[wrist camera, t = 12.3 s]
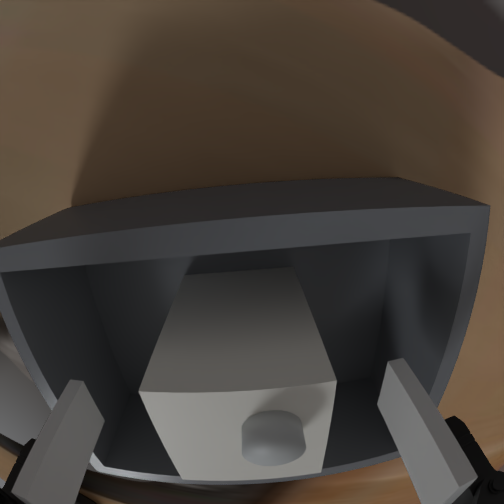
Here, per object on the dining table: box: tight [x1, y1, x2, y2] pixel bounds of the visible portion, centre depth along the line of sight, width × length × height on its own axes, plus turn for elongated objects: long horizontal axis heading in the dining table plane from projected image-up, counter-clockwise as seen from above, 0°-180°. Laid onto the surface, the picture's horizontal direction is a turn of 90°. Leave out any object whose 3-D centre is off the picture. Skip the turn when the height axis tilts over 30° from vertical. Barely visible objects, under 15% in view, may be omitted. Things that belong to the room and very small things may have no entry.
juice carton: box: [138, 267, 337, 481], centre depth 13 cm, size 6×6×10 cm
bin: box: [0, 177, 490, 485], centre depth 15 cm, size 20×15×8 cm
